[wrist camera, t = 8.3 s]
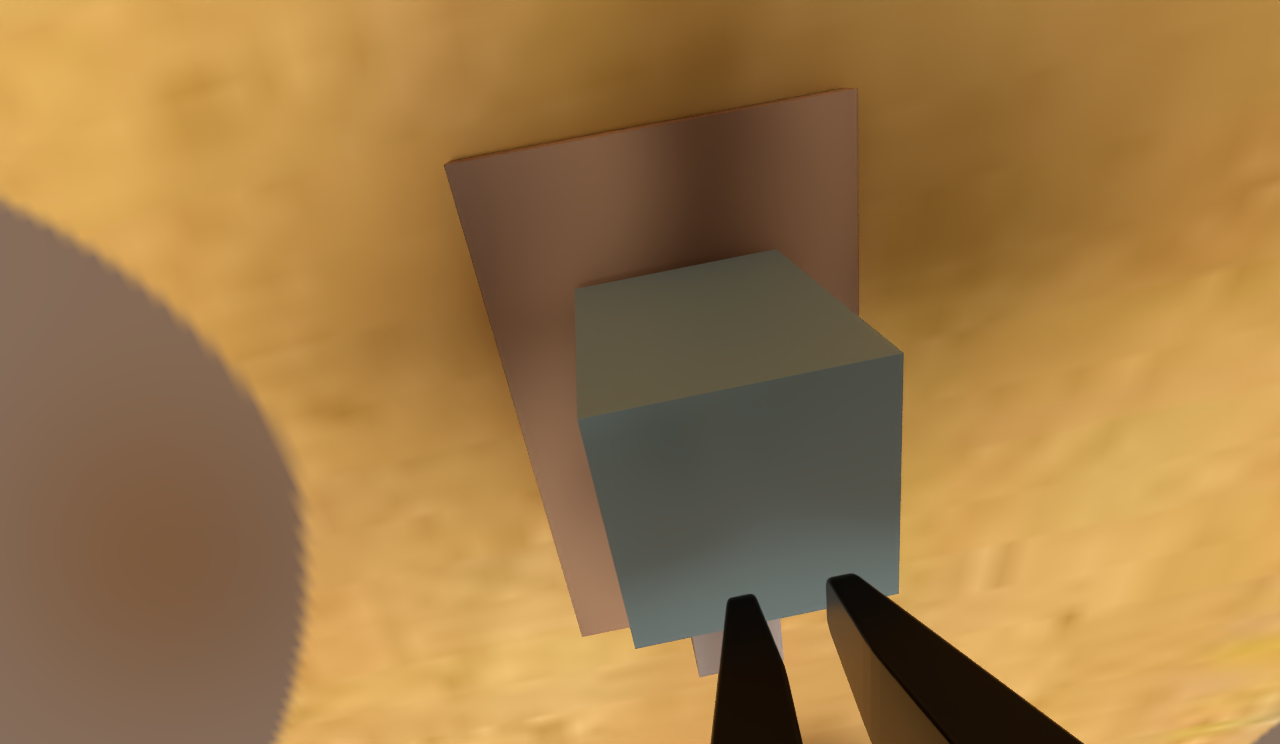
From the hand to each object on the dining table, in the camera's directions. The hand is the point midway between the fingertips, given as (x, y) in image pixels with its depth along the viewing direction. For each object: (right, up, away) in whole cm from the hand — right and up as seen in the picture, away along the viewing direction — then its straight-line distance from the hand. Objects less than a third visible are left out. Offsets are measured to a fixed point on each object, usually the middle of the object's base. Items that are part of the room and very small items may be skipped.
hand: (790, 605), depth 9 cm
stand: (-1, +3, +10) cm, 10 cm away
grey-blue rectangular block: (-1, +4, +8) cm, 9 cm away
